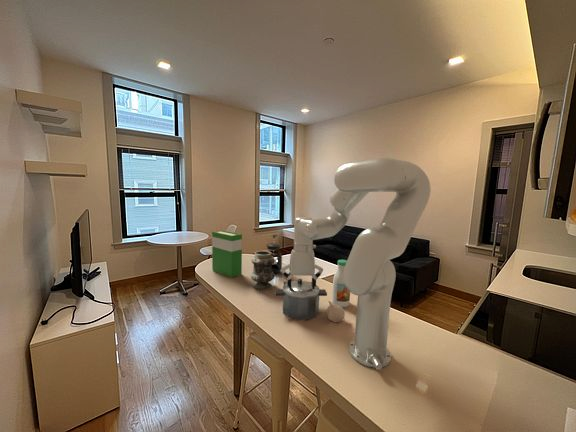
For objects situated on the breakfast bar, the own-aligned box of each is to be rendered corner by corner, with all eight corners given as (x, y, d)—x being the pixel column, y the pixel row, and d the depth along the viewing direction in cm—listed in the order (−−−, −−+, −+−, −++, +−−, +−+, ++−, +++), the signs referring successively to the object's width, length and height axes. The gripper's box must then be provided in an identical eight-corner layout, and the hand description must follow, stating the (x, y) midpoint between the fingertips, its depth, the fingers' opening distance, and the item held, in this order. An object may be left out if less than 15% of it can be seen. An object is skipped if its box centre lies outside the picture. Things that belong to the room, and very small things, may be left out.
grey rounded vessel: (275, 282, 131) (276, 250, 129) (271, 292, 119) (272, 256, 117) (253, 281, 132) (254, 248, 130) (248, 290, 120) (248, 255, 118)
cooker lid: (322, 299, 94) (323, 292, 94) (283, 299, 93) (283, 292, 93) (315, 283, 110) (315, 276, 110) (282, 282, 109) (282, 276, 109)
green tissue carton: (212, 270, 146) (212, 231, 144) (222, 267, 152) (222, 230, 149) (231, 277, 136) (231, 235, 133) (241, 274, 142) (241, 234, 139)
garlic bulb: (332, 314, 100) (333, 296, 99) (346, 320, 96) (347, 301, 95) (324, 321, 94) (325, 301, 94) (338, 327, 90) (340, 307, 90)
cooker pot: (329, 320, 95) (330, 298, 94) (275, 320, 94) (275, 298, 93) (321, 300, 111) (321, 282, 110) (274, 300, 110) (275, 281, 109)
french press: (261, 271, 148) (262, 234, 145) (273, 268, 154) (274, 232, 152) (274, 276, 139) (275, 237, 137) (286, 273, 146) (287, 235, 143)
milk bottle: (329, 305, 108) (331, 261, 105) (334, 298, 114) (337, 257, 112) (346, 309, 104) (349, 264, 102) (351, 302, 111) (353, 260, 108)
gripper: (322, 245, 102) (320, 284, 104) (281, 245, 101) (280, 284, 103) (326, 250, 95) (324, 291, 97) (282, 249, 94) (280, 291, 96)
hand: (301, 287), depth 100 cm, fingers open, 9 cm apart
